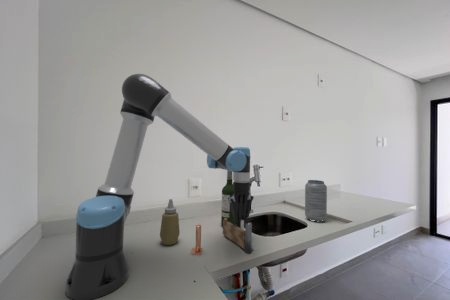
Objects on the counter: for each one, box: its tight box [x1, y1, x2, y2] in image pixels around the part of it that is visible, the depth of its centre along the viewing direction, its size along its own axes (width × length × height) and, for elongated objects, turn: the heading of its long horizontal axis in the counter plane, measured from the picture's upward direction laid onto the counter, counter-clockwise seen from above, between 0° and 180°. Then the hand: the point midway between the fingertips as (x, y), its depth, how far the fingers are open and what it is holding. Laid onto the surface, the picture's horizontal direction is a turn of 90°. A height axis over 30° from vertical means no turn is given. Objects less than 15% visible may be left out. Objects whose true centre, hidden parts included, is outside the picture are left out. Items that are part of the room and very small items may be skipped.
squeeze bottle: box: [159, 199, 181, 246], centre depth 82 cm, size 8×8×18 cm
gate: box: [222, 218, 246, 249], centre depth 83 cm, size 16×2×7 cm, turn 32°
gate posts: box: [190, 221, 255, 256], centre depth 76 cm, size 24×7×11 cm, turn 92°
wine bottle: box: [220, 170, 236, 228], centre depth 102 cm, size 8×8×30 cm
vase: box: [304, 179, 328, 221], centre depth 115 cm, size 12×12×23 cm
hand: (240, 234), depth 87 cm, fingers closed
